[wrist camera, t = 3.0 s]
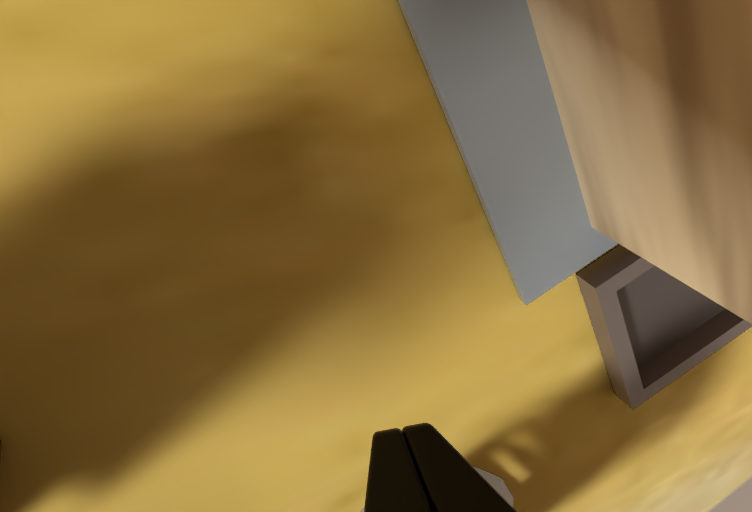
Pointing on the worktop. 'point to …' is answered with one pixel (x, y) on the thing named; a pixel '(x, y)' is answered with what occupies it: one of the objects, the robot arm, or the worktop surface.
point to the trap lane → (554, 196)
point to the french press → (495, 485)
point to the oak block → (661, 130)
